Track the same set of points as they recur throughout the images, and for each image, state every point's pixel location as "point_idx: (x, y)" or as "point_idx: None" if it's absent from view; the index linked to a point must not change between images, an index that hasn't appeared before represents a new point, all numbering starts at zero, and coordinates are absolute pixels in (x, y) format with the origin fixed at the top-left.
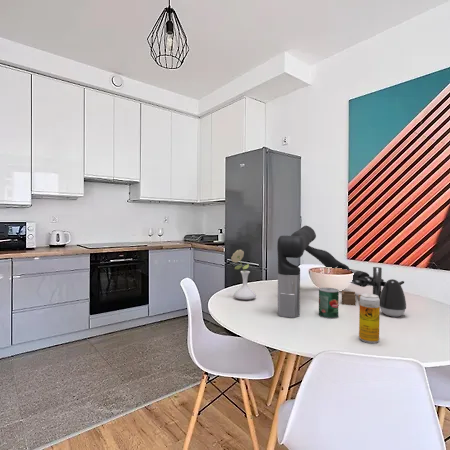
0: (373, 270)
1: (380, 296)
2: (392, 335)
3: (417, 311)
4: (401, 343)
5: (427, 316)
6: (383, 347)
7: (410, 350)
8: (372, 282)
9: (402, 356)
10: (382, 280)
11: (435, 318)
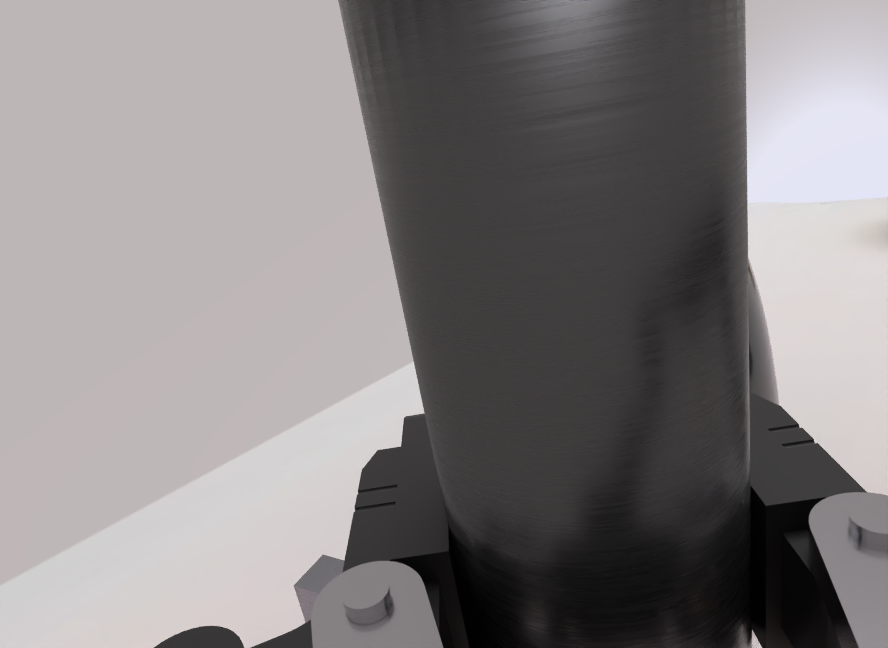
0: (743, 18)
1: (766, 324)
2: (806, 272)
3: (224, 619)
4: (790, 241)
5: (307, 492)
6: (885, 217)
7: (776, 222)
8: (810, 438)
9: (825, 202)
10: (235, 641)
11: (298, 460)
